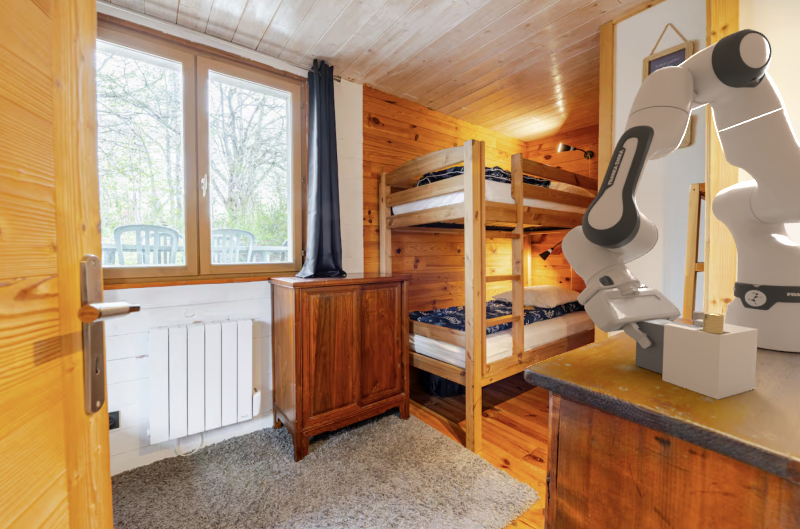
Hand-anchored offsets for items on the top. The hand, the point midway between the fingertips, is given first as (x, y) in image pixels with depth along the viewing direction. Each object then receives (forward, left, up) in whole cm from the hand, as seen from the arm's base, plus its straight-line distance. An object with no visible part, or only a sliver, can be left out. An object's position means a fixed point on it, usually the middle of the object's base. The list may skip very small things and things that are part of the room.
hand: (661, 344), depth 65 cm
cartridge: (0, +1, -5) cm, 5 cm away
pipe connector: (-12, -1, -5) cm, 13 cm away
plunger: (+3, +9, +2) cm, 10 cm away
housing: (0, +7, -5) cm, 9 cm away
